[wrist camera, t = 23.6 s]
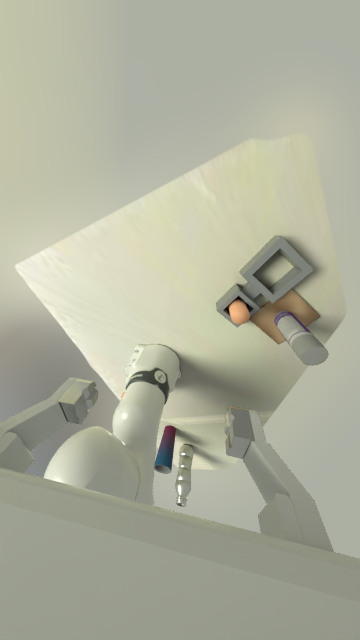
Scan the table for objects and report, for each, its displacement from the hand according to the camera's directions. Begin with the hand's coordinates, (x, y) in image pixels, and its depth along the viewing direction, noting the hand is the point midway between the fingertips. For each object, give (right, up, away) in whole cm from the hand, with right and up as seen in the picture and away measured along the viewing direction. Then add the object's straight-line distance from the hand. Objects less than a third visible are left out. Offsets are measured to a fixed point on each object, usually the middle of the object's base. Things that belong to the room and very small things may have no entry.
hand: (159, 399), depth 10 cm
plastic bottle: (+5, -57, +73) cm, 92 cm away
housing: (+20, +14, +32) cm, 40 cm away
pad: (+28, +6, +35) cm, 45 cm away
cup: (-3, -45, +68) cm, 81 cm away
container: (+28, +5, +34) cm, 45 cm away
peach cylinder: (+16, +9, +34) cm, 39 cm away
